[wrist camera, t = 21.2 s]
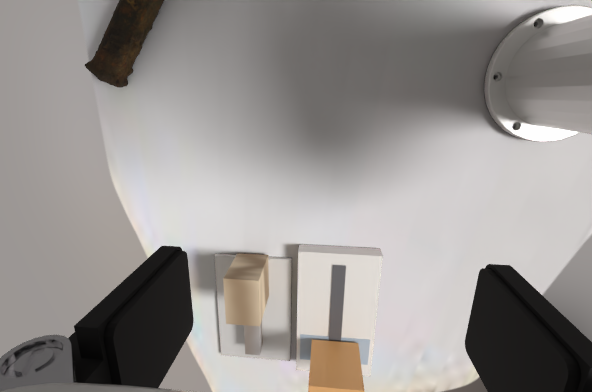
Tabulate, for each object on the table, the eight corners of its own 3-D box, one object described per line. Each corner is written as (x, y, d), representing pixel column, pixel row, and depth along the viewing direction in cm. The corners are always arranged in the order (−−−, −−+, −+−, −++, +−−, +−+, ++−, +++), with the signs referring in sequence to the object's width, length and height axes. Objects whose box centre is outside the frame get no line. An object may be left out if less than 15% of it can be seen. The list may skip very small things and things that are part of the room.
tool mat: (291, 257, 42) (291, 259, 41) (290, 358, 47) (289, 361, 46) (215, 253, 43) (214, 255, 42) (222, 352, 48) (221, 355, 47)
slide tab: (358, 343, 42) (364, 390, 35) (356, 361, 43) (362, 411, 36) (311, 339, 42) (308, 385, 36) (311, 357, 43) (307, 406, 37)
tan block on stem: (268, 255, 42) (258, 280, 36) (269, 345, 46) (261, 380, 40) (237, 253, 42) (223, 278, 36) (241, 342, 46) (229, 378, 40)
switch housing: (380, 248, 40) (382, 256, 38) (368, 364, 46) (370, 377, 44) (299, 244, 41) (298, 251, 39) (297, 358, 47) (296, 370, 45)
